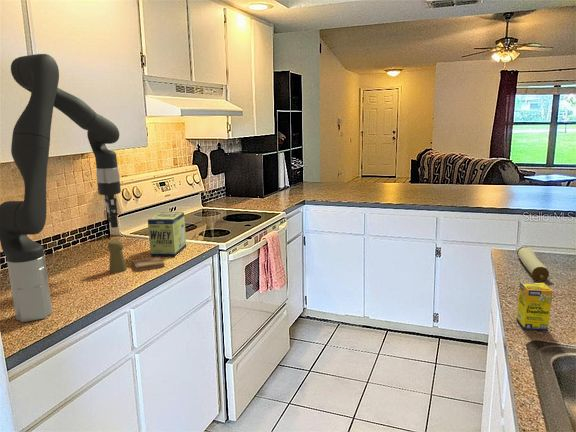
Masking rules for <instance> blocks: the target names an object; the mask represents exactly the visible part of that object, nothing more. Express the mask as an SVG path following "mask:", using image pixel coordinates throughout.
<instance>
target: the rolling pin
mask: <svg viewBox="0 0 576 432" xmlns="http://www.w3.org/2000/svg"><path fill="white" fill-rule="evenodd" d="M516 255H517V257H518V258H519V259H520V260H521V261H520V262H522V263H523V265H524V267H525V268H526V269H527V270H528V272H529V273H530V274H531V276H532V278H533V279H534V280H535V281H537V282H538V281H540V282H544V281H546V280H548V278H549V276H550V269H549V268H548V267H546V266H545V264H544V263H542V262H541V261H540V260H539V259H538V258H537V256H536V254H535V251H534V249H532V248H530V247H527V246H521V247H519V248H518V249H517V251H516Z"/></svg>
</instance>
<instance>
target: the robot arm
mask: <svg viewBox="0 0 576 432" xmlns="http://www.w3.org/2000/svg"><path fill="white" fill-rule="evenodd" d="M10 73H11V76H12V77H13V80H14V81H15V82H16V83H17V84H18V85H19V86H20V87H21V88H23V89H24V90H26V91H28V92H29V93H30V97H29V101H28V103H27V104H26V106H25V108H24V109H23V111H22V112H21V114H20V115H19V117H18V118H17V121H16V122H15V125H14V126H13V130H12V137H11V138H12V139H11V146H10V148H11V150H10V153H11V156H12V159H13V161H14V164H15V165H16V167H17V169H18V171H19V173H20V175H21V177H22V180H23V184H24V185H23V186H24V193H23V194H24V195H23V196H24V197H23V200H9V201H8V200H7V201H3V202H2V203H1V204H0V247H1V250H2V253H4V255H5V257H6V262H7V271H8V276H9V282H10V283H9V284H10V289H11V296H12V302H13V303H12V304H13V308H14V315H15V320H17V321H19V322H20V323H27V322H31V321H38V320H43V319H46V318H47V317H48V316H49V315H51V314H52V313H53V306H52V299H51V293H50V285H49V278H48V272H47V265H46V257H45V250H44V246H43V245H42V244H40V243H38V242H36V241H34V240H33V239H32V238H30V237H29V236H28V235H33V236H34V235H38V234H40V233H41V232H42V231H43V229H44V228H45V225H46V222H47V176H48V174H47V173H48V162H49V155H50V145H51V130H52V121H53V120H52V119H53V113H54V108H55V109H57V110H58V111H60V112H61V113H62V114H64V115H65V116H66V117H68V119H70V120H71V121H72V122H73V123H75V124H76V125H77V126H78V127H80V128H81V129H83V130H85V131H87V132H86V135H87V136H86V137H87V140H88V143H89V145H90V148H91V151H92V153H93V155H94V159H95V160H94V161H95V167H96V171H95V173H96V183H97V191H98V192H97V193H98V194H99V195H101V196H104V199H103V200H104V205H105V209H106V212H107V219H108V222H109V224H110V227H111V228H112V229H113V228H118V227H119V225H118V216H119V213H118V209H119V208H118V199H117V198H116V197H115V195H118V194H121V192H122V190H121V189H122V188H121V180H120V172H119V167H118V159H117V158H118V157H117V154H116V152H115V151H113V150H110V149H108V147H107V145H106V144H108V145H110V144H115V143H117V142H118V140H119V139H120V130H119V129H118V127H117V125H116V124H115V123H114V122H112V121H111V120H109V119H107V118H106V117H104V116H103V115H100V114H98V113H97V112H96V111H95V110H94V109H93V108H92V107H91V106H89V105H88V104H87V103H86V102H85V101H84V100H83V99H81V98H79V97H77V96H75V95H74V94H71V93H69V92H68V91H65V90H63V89H61V88H59V87H58V86H59V83H60V82H59V81H60V70H59V66H58V63H57V61H56V60H55V58H54V57H52V56H51V55H49V54H47V53H37V54H29V55H24V56H23V55H22V56H19V57H16V58H15V59H13V60H12V62H11V65H10Z"/></svg>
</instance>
